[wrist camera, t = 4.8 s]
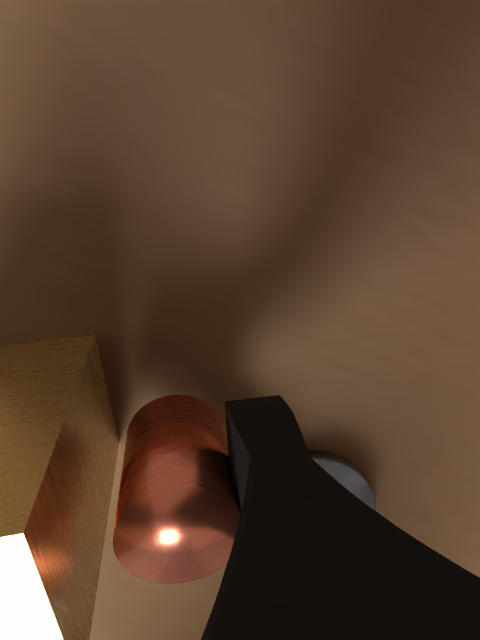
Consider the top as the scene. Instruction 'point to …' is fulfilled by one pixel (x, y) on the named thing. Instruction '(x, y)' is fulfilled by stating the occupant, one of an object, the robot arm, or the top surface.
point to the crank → (175, 493)
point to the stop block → (53, 486)
